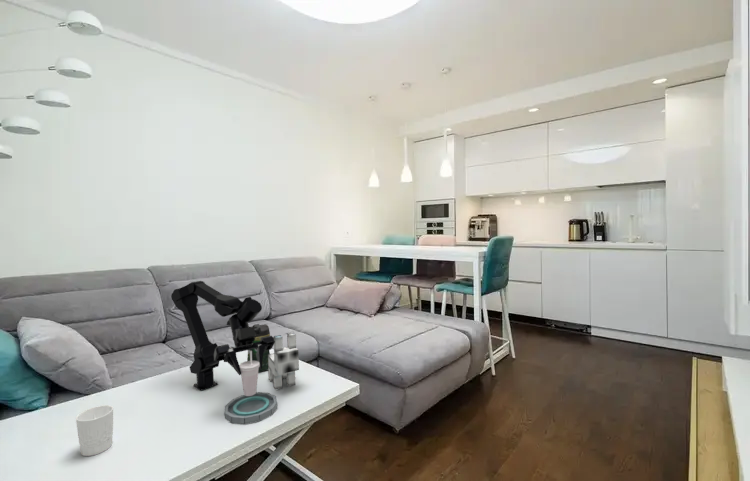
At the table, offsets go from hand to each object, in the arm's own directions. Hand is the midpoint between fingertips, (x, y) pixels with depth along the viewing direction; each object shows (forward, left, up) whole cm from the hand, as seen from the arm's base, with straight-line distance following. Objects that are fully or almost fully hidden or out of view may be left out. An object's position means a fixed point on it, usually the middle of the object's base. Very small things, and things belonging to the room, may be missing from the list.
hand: (250, 371), depth 112 cm
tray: (-1, +1, -13) cm, 13 cm away
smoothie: (-1, 0, -8) cm, 8 cm away
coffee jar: (-28, +21, -13) cm, 37 cm away
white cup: (-17, -36, -13) cm, 43 cm away
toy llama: (-9, +19, -13) cm, 25 cm away
